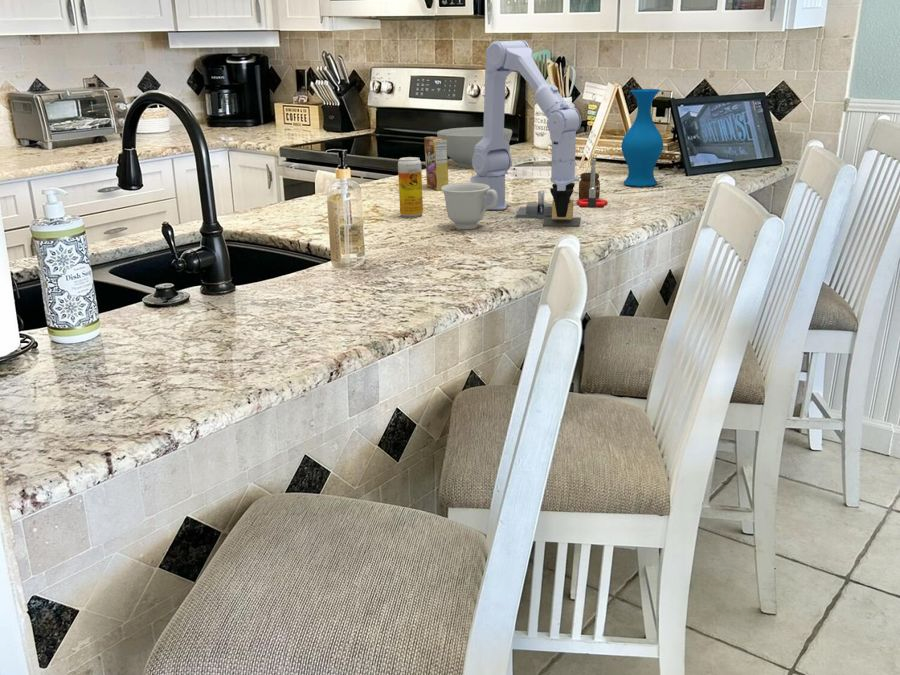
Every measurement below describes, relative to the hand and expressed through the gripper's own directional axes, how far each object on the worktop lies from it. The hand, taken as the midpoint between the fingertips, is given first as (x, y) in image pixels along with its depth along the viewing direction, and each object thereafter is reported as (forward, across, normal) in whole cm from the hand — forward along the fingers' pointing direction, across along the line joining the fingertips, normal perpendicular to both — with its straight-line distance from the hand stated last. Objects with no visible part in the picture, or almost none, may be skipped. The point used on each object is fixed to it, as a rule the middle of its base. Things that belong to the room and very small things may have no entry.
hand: (562, 214), depth 210 cm
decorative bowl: (+2, +93, +36) cm, 100 cm away
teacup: (+2, -7, +22) cm, 23 cm away
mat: (+2, 0, 0) cm, 2 cm away
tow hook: (+2, +24, -7) cm, 25 cm away
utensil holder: (+2, +32, -6) cm, 33 cm away
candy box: (+2, +47, +41) cm, 62 cm away
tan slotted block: (+1, 0, 0) cm, 1 cm away
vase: (+2, +55, -21) cm, 59 cm away
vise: (+2, +10, +6) cm, 12 cm away
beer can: (+2, +6, +40) cm, 41 cm away
